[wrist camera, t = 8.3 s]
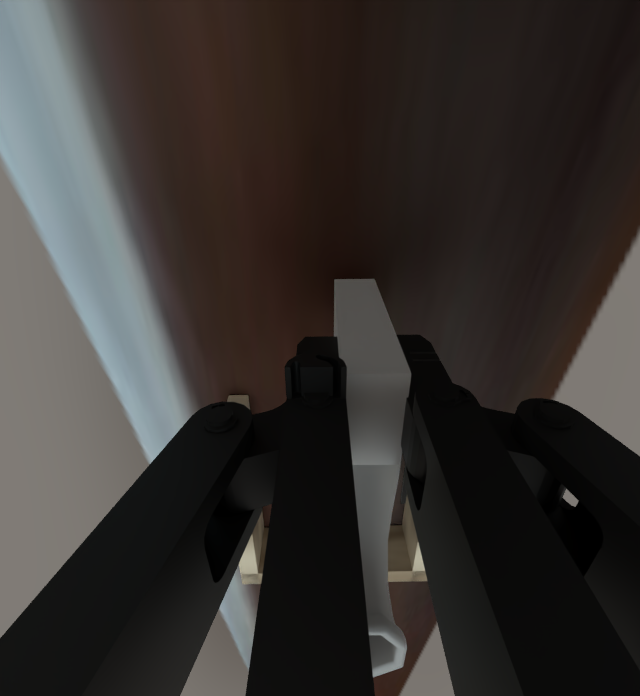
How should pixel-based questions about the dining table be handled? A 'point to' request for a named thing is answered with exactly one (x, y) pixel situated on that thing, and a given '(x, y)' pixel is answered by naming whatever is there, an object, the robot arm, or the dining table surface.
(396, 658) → the flask
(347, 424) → the robot arm
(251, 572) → the caddy
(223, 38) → the dining table surface
